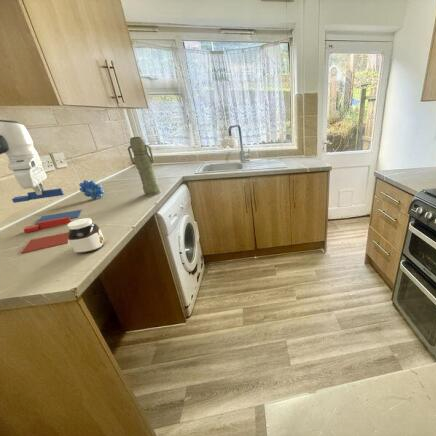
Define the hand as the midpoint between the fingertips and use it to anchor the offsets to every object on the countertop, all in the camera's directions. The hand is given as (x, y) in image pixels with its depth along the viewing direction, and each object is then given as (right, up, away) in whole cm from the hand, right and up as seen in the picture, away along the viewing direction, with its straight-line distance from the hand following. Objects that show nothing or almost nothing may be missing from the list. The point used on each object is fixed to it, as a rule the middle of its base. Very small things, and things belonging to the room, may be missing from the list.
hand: (41, 193), depth 106 cm
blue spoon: (0, -2, +1) cm, 2 cm away
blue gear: (-11, +1, +43) cm, 44 cm away
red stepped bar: (-2, -15, +7) cm, 16 cm away
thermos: (+22, +4, +48) cm, 53 cm away
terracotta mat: (+12, -20, -7) cm, 25 cm away
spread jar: (+32, -23, -13) cm, 41 cm away
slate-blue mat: (-8, -10, +17) cm, 21 cm away
